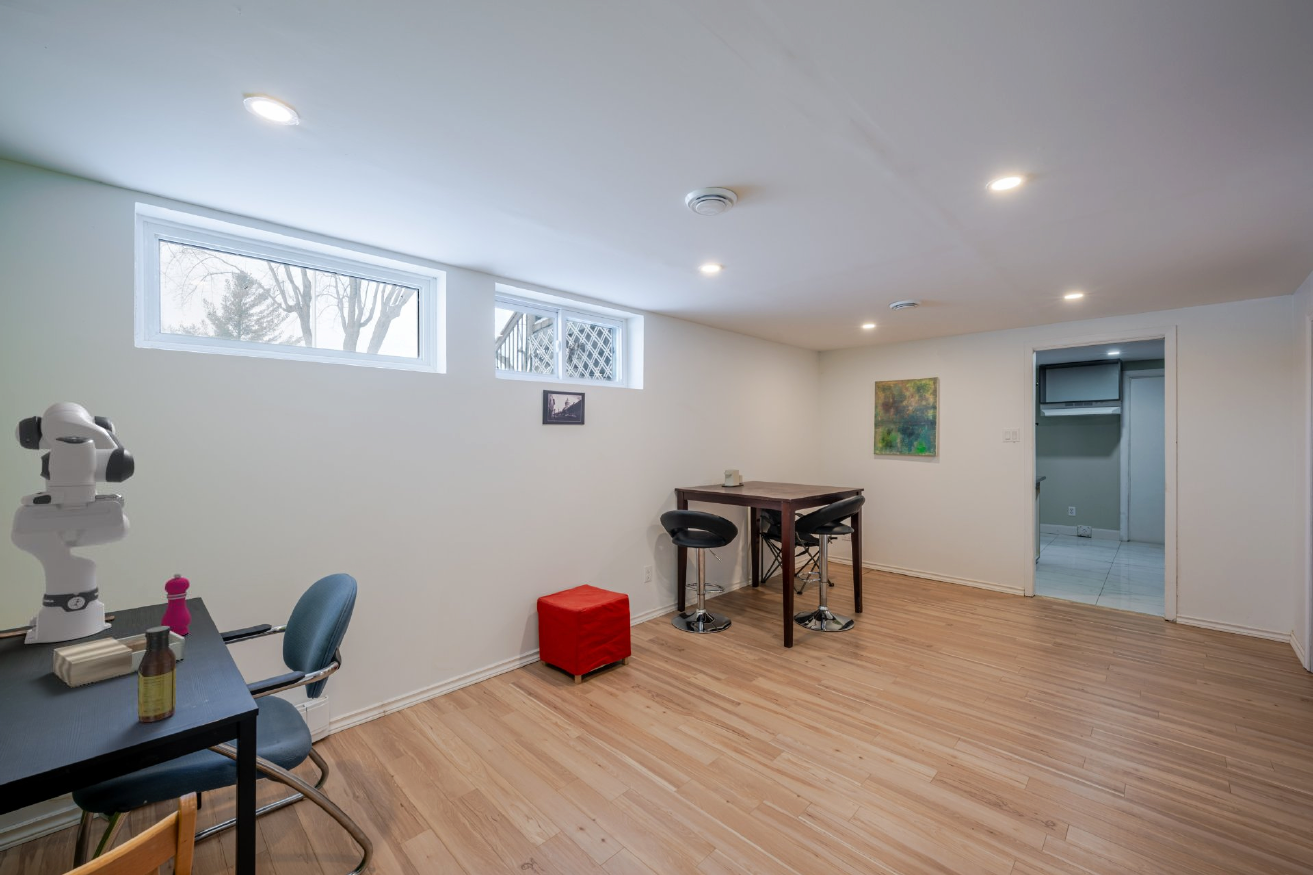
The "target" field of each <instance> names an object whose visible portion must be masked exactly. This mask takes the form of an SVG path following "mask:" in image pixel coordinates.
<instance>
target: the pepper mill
mask: <svg viewBox="0 0 1313 875" xmlns="http://www.w3.org/2000/svg"><path fill="white" fill-rule="evenodd" d="M190 586H191V585H190V581H189V579H188V578H186V577H182V574H181V573H180V572H176V573H174V575H173V578H170V579H169V580H168V581H167V582H166V583H165V585H164V591H165V592H167V594H166V600H167V609H166V610H165V612H164V614H163V616H162V618H161V621H160V626H169V627H170V631H172V632H174V633H176V634H178V635H180V636H182V635H184V634H187V633H188V632H190V630H189V629H190V628H189V627H188V626H189V625H190V624H191V622H192V616H191V613H190V612H189V610H188V608H187V605H186V597H187V596H188V591H187V590H189V588H190ZM188 634H189V633H188ZM188 634H187V635H188ZM182 637H183V636H182Z"/></svg>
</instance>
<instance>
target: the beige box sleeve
mask: <svg viewBox="0 0 1313 875" xmlns="http://www.w3.org/2000/svg"><path fill="white" fill-rule="evenodd" d="M52 672H53V673H54V674H55V675H56V676H57V675H58V676H59V677H58V676H57V677H58V678H60V680H62V681H63V682H64V683H65V682H66V683H67V684H66V683H65V684H66V685H68V687H70V686H71V687H70V688H71V689H72V687H73V688H75V687H74V686H77V687H81V686H84V685H83V684H85V685H89V684H92V683H91V682H93V683H97V682H100V680H101V681H104V680H107V679H112V678H116V677H120V676H122V675H123V676H124V675H128V674H131V673H133V672H132V649H130V648H128V647H127V646H125V645H123V644H122V643H120V642H118V641H117V639H115V638H114V637H112V636H111V637H106V638H101V639H97V640H92V641H86V642H82V643H77V644H73V645H68V646H64V647H63V646H62V647H59V648H54V649H53V666H52ZM119 675H120V676H119ZM88 683H89V684H88ZM80 685H81V686H80Z"/></svg>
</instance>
